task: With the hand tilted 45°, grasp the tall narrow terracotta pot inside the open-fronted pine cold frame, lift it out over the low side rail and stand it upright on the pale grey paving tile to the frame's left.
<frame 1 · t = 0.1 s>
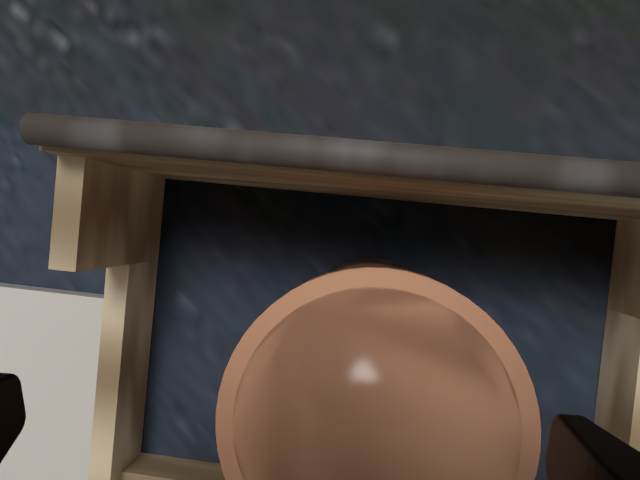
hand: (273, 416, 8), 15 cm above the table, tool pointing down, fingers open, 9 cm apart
terracotta pot: (369, 325, 24), resting in cold frame
paving tile: (21, 384, 25), on the table
cold frame: (369, 325, 24), on the table
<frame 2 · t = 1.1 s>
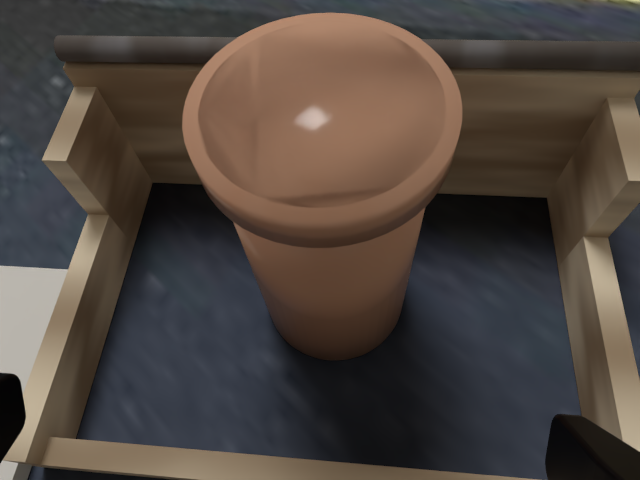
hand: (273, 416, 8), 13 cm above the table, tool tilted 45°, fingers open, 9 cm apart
terracotta pot: (334, 294, 24), resting in cold frame
cold frame: (334, 293, 24), on the table
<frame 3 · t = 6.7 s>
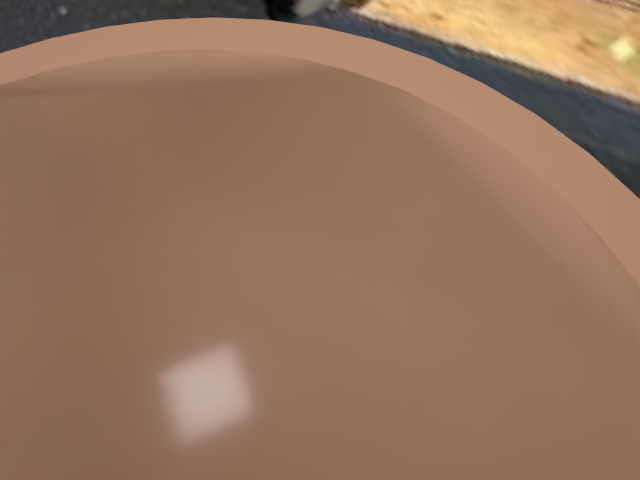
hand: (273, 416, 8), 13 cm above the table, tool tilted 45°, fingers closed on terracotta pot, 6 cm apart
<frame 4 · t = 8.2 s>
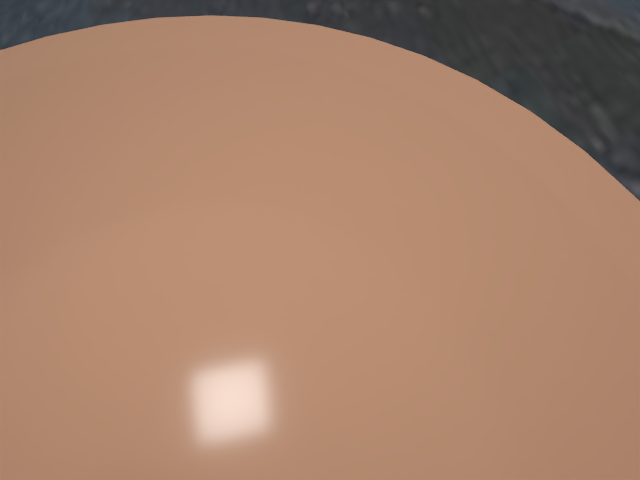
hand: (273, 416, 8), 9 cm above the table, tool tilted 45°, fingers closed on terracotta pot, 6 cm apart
when the fingers open (9 cm above the table, at t = 9.2 s): terracotta pot drops 1 cm, resting on paving tile.
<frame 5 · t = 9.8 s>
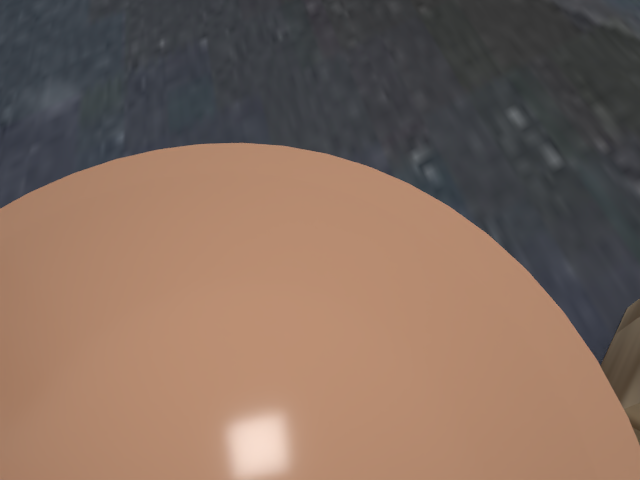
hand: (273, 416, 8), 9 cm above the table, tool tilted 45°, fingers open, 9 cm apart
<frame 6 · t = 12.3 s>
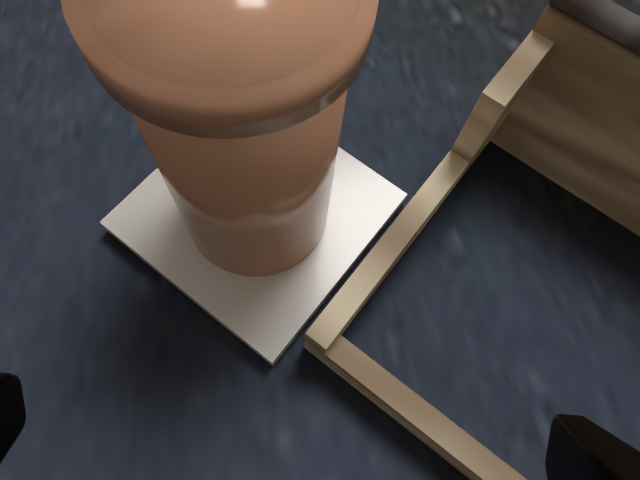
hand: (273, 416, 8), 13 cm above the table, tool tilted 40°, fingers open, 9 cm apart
terracotta pot: (257, 210, 23), point 1 cm above the table, touching paving tile
paving tile: (259, 216, 24), on the table
cold frame: (623, 357, 22), on the table
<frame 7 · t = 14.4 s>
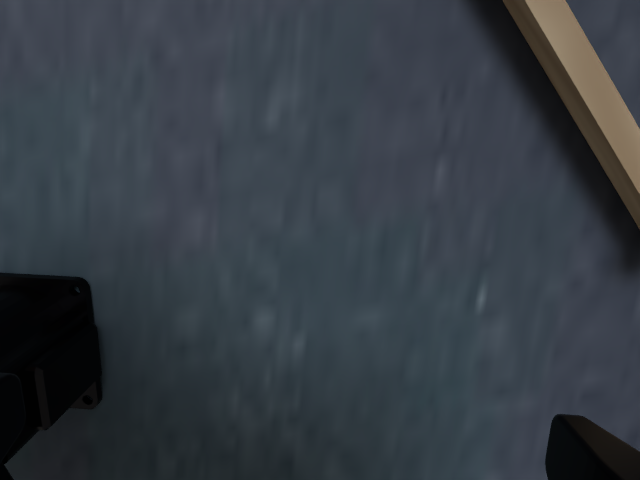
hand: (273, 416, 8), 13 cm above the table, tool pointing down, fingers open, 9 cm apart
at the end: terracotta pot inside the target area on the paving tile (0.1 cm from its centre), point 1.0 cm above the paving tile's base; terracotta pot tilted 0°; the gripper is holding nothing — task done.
